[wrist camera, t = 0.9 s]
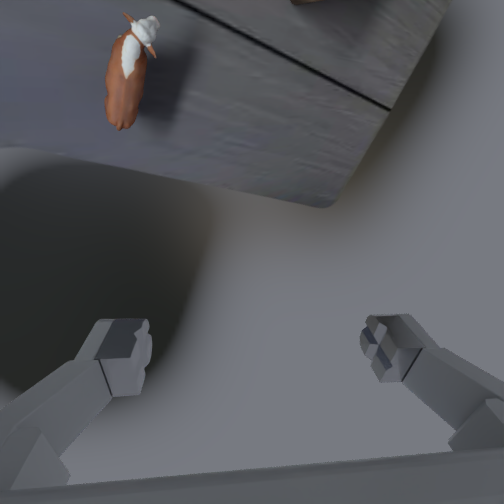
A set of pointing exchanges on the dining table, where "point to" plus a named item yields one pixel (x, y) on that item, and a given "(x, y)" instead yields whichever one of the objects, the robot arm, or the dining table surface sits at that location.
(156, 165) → the dining table surface
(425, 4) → the dining table surface
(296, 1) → the fence panel
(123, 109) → the bull figurine
